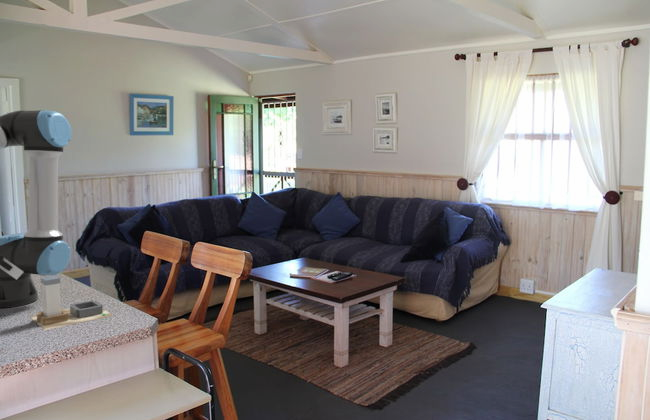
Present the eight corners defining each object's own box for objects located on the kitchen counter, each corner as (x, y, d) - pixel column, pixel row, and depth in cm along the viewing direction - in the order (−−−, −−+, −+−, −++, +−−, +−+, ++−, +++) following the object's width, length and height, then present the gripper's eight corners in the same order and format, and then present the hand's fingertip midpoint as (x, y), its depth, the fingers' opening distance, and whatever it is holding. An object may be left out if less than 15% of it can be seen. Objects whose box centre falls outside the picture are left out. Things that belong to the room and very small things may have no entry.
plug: (43, 319, 172) (40, 277, 170) (57, 316, 174) (55, 275, 173) (47, 323, 168) (45, 280, 167) (62, 320, 171) (60, 278, 169)
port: (69, 312, 178) (68, 304, 178) (94, 307, 184) (94, 299, 183) (80, 320, 171) (79, 312, 171) (106, 314, 176) (106, 307, 176)
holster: (36, 319, 172) (35, 312, 171) (61, 314, 177) (61, 308, 176) (43, 325, 166) (43, 319, 166) (69, 320, 171) (69, 313, 171)
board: (29, 320, 174) (29, 316, 174) (95, 307, 188) (94, 303, 188) (45, 334, 163) (45, 330, 163) (114, 319, 176) (113, 315, 176)
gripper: (-71, 229, 158) (-7, 273, 170) (-56, 242, 140) (15, 290, 152) (-50, 208, 161) (11, 253, 173) (-32, 219, 143) (35, 268, 155)
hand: (13, 271), depth 163 cm, fingers open, 13 cm apart
